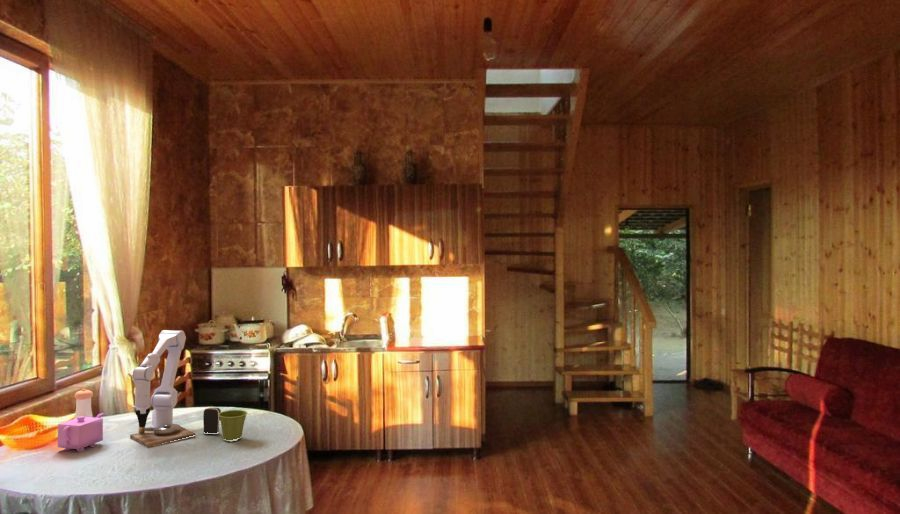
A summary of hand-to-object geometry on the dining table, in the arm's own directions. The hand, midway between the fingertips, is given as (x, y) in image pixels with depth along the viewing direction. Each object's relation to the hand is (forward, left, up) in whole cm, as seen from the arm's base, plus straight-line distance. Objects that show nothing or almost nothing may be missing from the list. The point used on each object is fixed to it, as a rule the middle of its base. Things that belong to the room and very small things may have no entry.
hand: (142, 426), depth 252 cm
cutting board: (+5, +7, -5) cm, 10 cm away
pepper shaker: (-27, -14, -5) cm, 31 cm away
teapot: (-6, -20, -5) cm, 22 cm away
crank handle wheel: (+2, +6, -3) cm, 7 cm away
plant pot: (+29, +26, -5) cm, 39 cm away
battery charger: (+15, +24, -5) cm, 28 cm away
